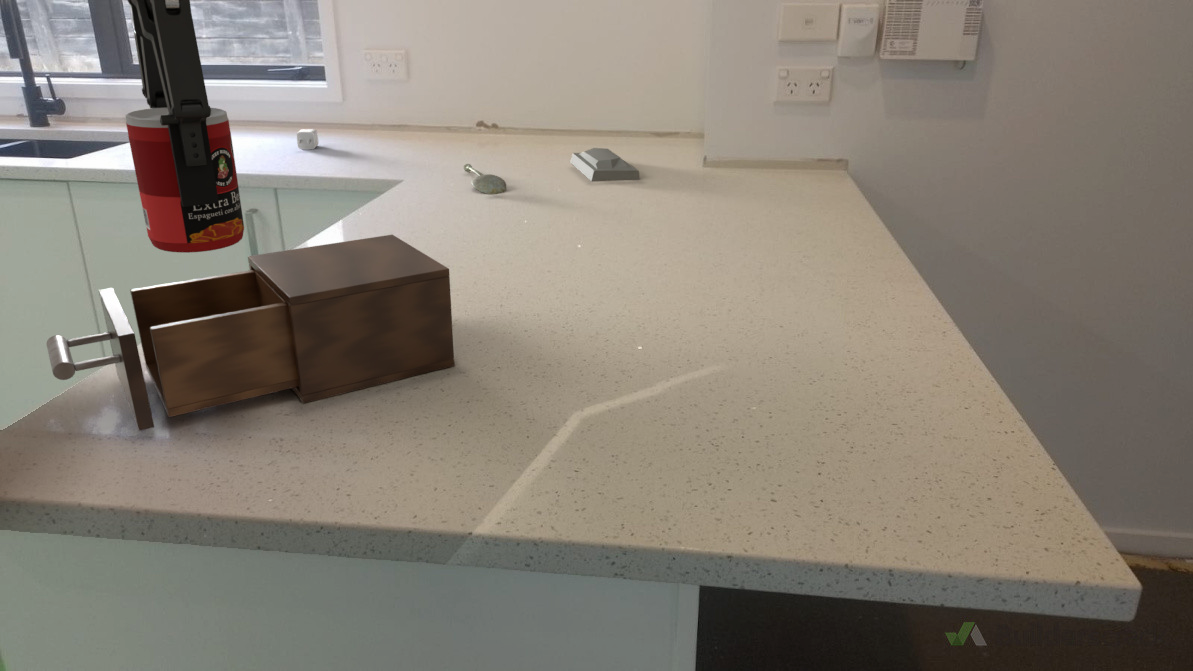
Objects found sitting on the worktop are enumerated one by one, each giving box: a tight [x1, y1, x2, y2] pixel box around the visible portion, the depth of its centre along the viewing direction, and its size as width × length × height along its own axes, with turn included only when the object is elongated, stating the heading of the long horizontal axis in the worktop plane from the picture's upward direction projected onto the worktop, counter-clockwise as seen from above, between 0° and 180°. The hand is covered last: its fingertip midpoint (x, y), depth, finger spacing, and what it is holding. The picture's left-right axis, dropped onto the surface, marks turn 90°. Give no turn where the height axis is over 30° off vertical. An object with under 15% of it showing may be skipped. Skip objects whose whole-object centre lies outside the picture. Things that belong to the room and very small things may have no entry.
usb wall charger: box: [295, 128, 319, 150], centre depth 199 cm, size 4×7×4 cm, turn 7°
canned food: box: [125, 107, 245, 254], centre depth 72 cm, size 8×8×11 cm
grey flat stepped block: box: [569, 147, 640, 182], centre depth 180 cm, size 10×20×4 cm, turn 14°
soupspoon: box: [463, 163, 507, 195], centre depth 168 cm, size 22×3×7 cm
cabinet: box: [247, 234, 455, 404], centre depth 86 cm, size 16×15×11 cm
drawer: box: [46, 269, 299, 432], centre depth 77 cm, size 20×13×9 cm
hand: (190, 193), depth 72 cm, fingers closed on canned food, 8 cm apart
